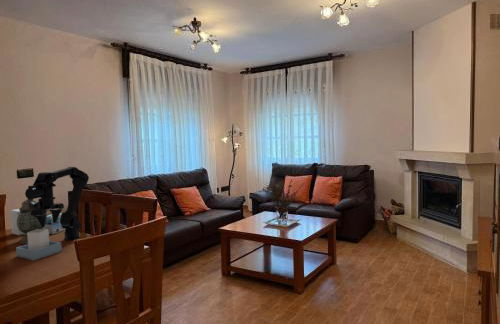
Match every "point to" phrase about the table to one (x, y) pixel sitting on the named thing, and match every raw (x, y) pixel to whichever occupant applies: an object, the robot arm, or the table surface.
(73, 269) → the table surface
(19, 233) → the supplement box
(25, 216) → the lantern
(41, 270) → the table surface
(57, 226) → the light bulb box
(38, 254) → the tray
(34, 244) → the white upright carton
